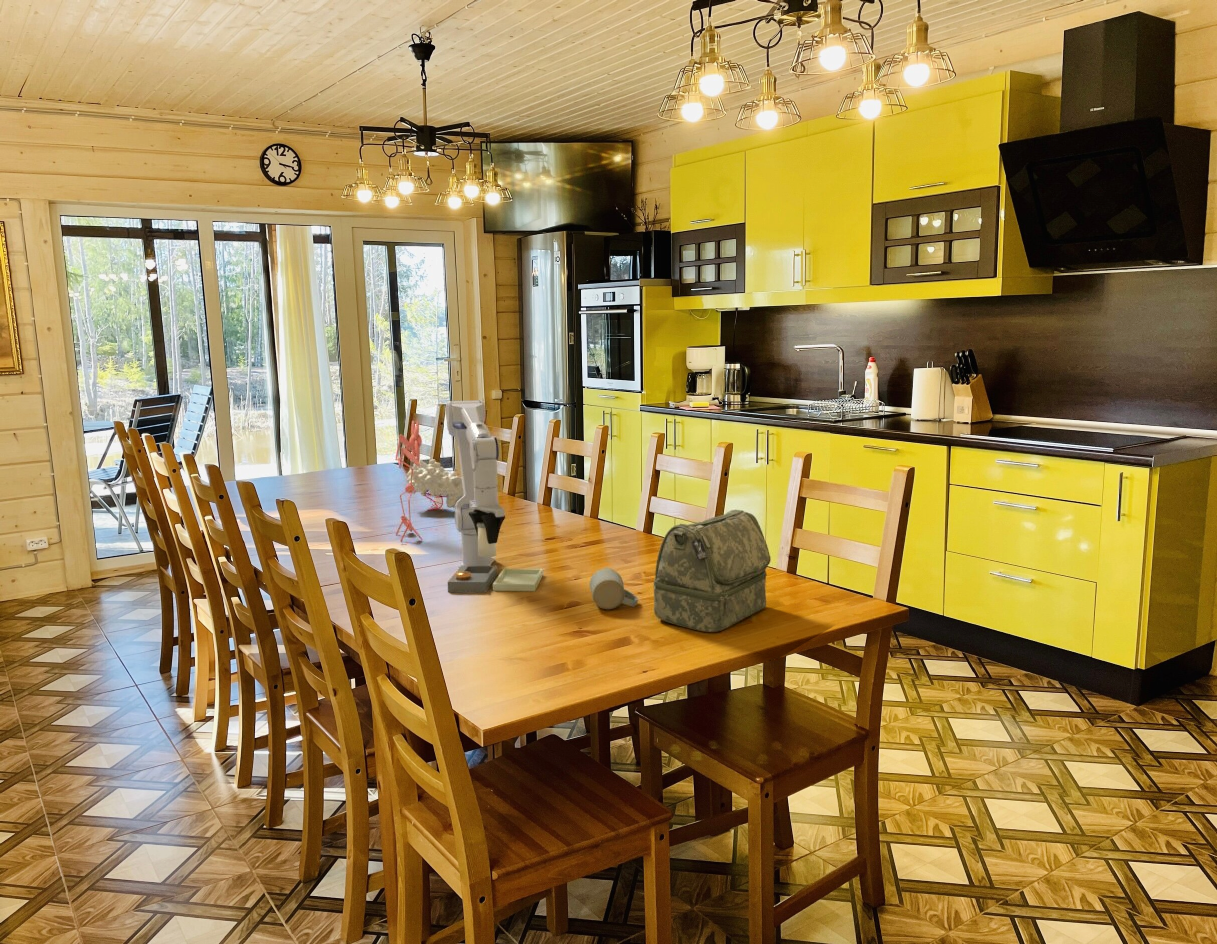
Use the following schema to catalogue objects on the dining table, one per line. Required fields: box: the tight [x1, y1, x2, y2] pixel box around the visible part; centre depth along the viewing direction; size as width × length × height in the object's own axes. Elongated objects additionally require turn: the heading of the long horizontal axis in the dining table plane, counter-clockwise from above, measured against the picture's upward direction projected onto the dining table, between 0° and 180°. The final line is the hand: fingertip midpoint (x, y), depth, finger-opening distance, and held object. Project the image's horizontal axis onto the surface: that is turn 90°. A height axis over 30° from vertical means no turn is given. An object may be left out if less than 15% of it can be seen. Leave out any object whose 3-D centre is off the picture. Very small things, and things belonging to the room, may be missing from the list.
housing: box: [447, 565, 498, 593], centre depth 220 cm, size 15×9×2 cm, turn 176°
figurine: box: [394, 420, 444, 546], centre depth 269 cm, size 15×26×35 cm, turn 22°
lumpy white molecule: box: [406, 458, 464, 512], centre depth 310 cm, size 20×18×25 cm
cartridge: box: [477, 522, 497, 558], centre depth 221 cm, size 5×5×8 cm
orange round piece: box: [455, 571, 471, 580], centre depth 216 cm, size 4×4×4 cm
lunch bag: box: [653, 509, 772, 633], centre depth 192 cm, size 26×18×22 cm
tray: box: [492, 568, 544, 592], centre depth 220 cm, size 14×10×2 cm
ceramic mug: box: [589, 568, 639, 610], centre depth 201 cm, size 11×8×8 cm
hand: (487, 541), depth 221 cm, fingers closed on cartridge, 5 cm apart
